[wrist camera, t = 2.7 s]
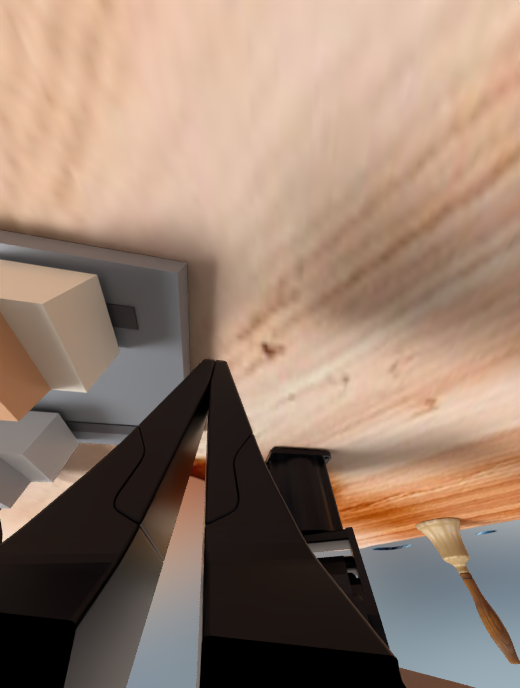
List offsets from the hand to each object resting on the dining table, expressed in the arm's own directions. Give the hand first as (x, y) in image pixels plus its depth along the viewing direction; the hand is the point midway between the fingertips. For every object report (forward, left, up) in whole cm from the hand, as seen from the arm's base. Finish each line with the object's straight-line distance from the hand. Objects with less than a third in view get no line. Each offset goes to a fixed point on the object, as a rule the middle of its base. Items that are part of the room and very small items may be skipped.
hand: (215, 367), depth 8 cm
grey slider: (+12, +10, -2) cm, 16 cm away
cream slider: (+7, 0, -2) cm, 7 cm away
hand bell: (-48, +42, -4) cm, 64 cm away
